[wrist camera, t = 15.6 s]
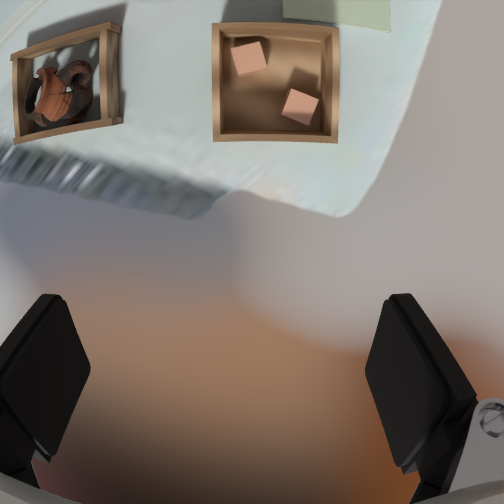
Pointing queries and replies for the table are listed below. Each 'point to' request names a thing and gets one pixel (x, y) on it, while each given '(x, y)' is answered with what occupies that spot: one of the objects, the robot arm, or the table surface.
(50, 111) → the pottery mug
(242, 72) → the cube
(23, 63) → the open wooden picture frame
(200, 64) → the table surface
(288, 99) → the cube
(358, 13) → the lid
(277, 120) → the box
